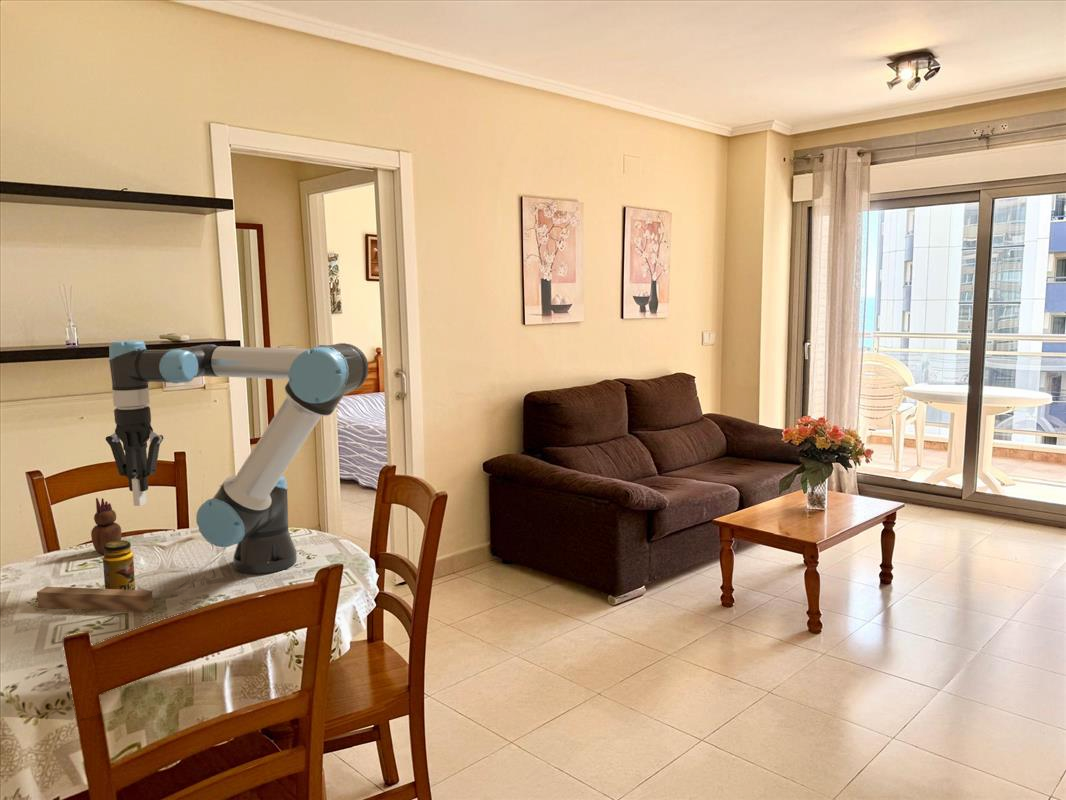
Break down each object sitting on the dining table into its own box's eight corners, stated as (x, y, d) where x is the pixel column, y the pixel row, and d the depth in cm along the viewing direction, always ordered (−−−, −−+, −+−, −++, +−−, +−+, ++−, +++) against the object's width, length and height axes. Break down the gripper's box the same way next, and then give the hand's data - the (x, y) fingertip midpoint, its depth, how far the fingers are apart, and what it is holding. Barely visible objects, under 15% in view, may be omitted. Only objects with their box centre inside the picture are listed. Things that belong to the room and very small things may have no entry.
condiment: (138, 596, 170) (135, 545, 168) (95, 604, 165) (91, 552, 163) (136, 585, 176) (132, 536, 174) (94, 592, 171) (90, 542, 170)
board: (153, 605, 165) (152, 590, 164) (145, 611, 162) (144, 596, 161) (47, 601, 166) (46, 586, 165) (38, 607, 163) (36, 592, 162)
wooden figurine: (95, 557, 192) (91, 501, 190) (90, 551, 197) (86, 496, 194) (124, 551, 197) (120, 496, 195) (119, 545, 201) (115, 491, 199)
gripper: (167, 404, 179) (174, 500, 182) (114, 404, 179) (122, 499, 183) (150, 409, 171) (158, 509, 175) (95, 409, 172) (103, 508, 175)
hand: (140, 504), depth 179 cm, fingers closed
